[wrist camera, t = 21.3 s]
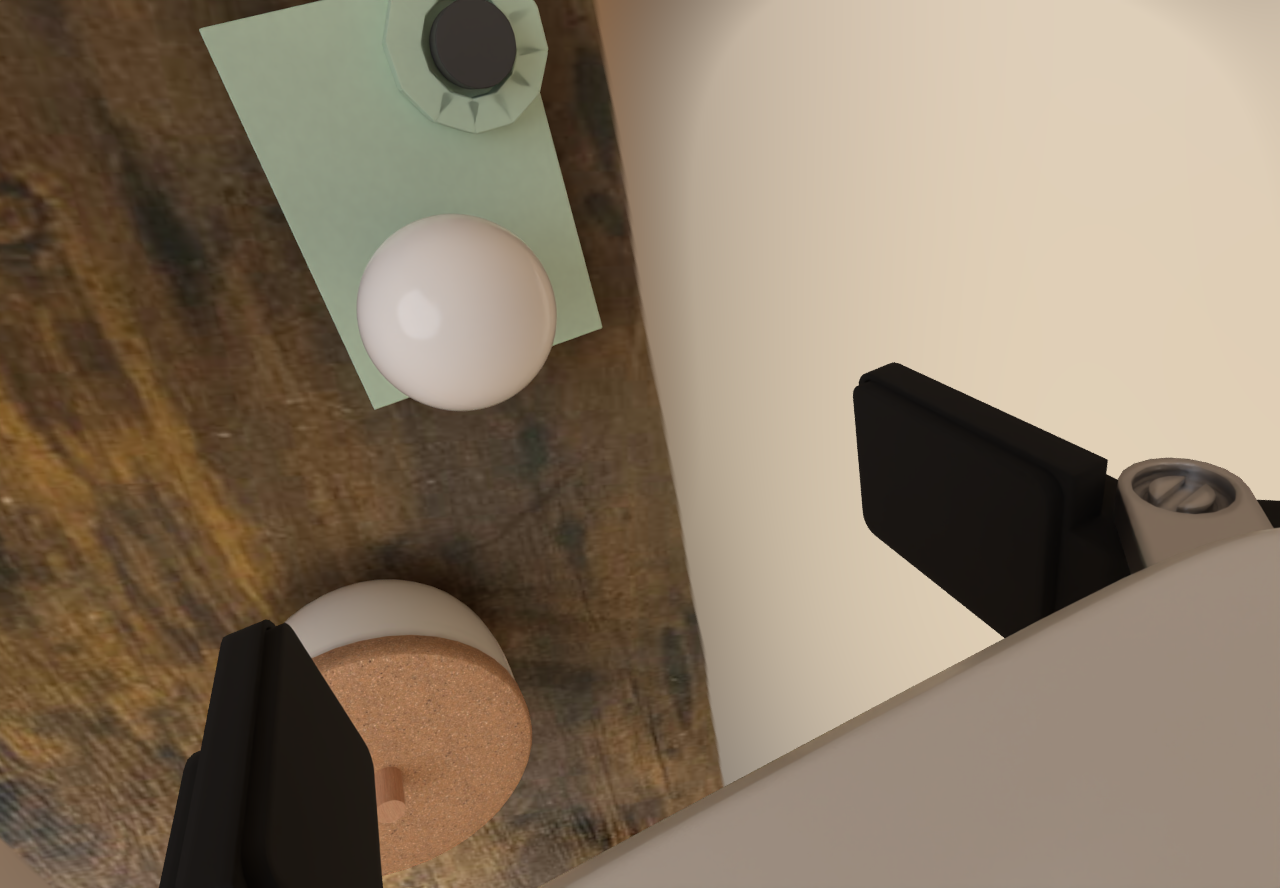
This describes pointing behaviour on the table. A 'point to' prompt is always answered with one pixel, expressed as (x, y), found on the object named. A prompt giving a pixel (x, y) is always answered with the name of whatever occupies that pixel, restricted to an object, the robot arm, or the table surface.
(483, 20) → the tare button
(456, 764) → the lidded bowl
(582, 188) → the table surface
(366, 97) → the green dial base
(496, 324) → the lightbulb
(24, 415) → the table surface
